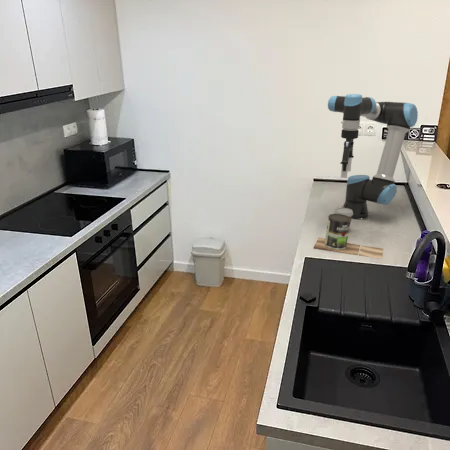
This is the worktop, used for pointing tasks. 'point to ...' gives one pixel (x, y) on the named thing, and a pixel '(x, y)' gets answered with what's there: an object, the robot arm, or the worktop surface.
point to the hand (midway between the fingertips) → (345, 174)
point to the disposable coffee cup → (344, 212)
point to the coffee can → (337, 231)
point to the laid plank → (371, 252)
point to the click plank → (349, 249)
